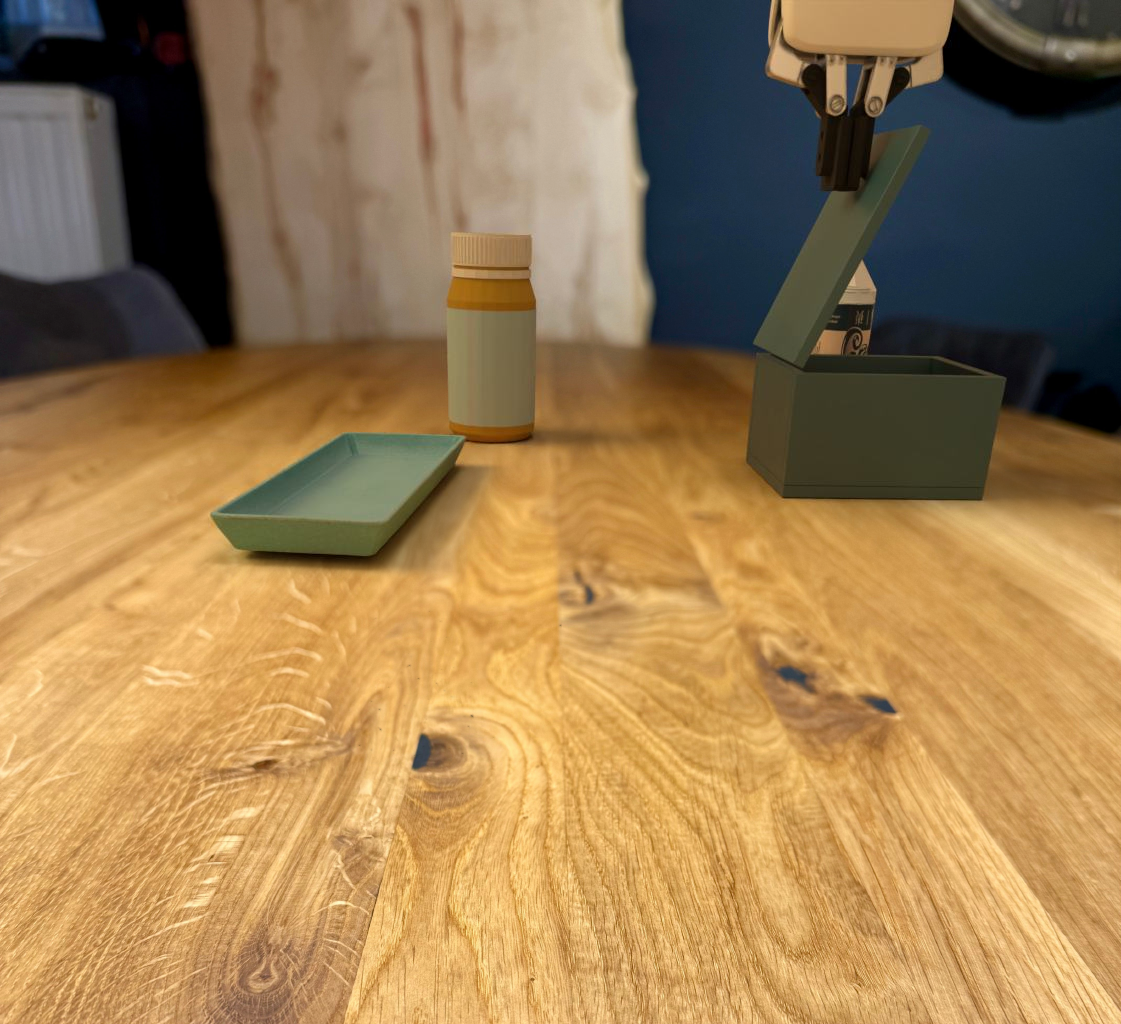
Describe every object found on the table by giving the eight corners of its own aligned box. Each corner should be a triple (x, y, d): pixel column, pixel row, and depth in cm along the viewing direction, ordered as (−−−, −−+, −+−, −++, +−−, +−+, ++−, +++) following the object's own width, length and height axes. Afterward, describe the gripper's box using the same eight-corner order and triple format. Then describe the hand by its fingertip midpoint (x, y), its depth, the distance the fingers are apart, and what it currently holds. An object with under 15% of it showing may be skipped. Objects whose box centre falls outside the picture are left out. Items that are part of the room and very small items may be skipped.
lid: (869, 143, 72) (859, 137, 72) (932, 131, 62) (921, 124, 62) (761, 348, 78) (752, 343, 77) (803, 368, 67) (792, 363, 67)
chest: (920, 463, 82) (939, 356, 78) (982, 499, 72) (1007, 377, 68) (745, 461, 81) (756, 352, 78) (782, 497, 71) (796, 373, 67)
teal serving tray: (344, 459, 78) (342, 424, 77) (468, 464, 78) (467, 429, 77) (210, 561, 55) (204, 513, 54) (387, 569, 54) (384, 521, 53)
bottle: (514, 446, 84) (516, 235, 78) (434, 438, 86) (429, 232, 80) (546, 432, 90) (550, 234, 83) (470, 425, 92) (468, 231, 85)
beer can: (851, 455, 84) (875, 289, 79) (790, 449, 86) (809, 286, 80) (856, 444, 89) (879, 286, 83) (798, 439, 90) (817, 284, 85)
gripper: (987, -152, 64) (931, 195, 72) (739, -164, 63) (711, 188, 71) (1045, -195, 57) (977, 193, 65) (768, -210, 56) (734, 185, 64)
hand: (838, 189), depth 68 cm, fingers closed
